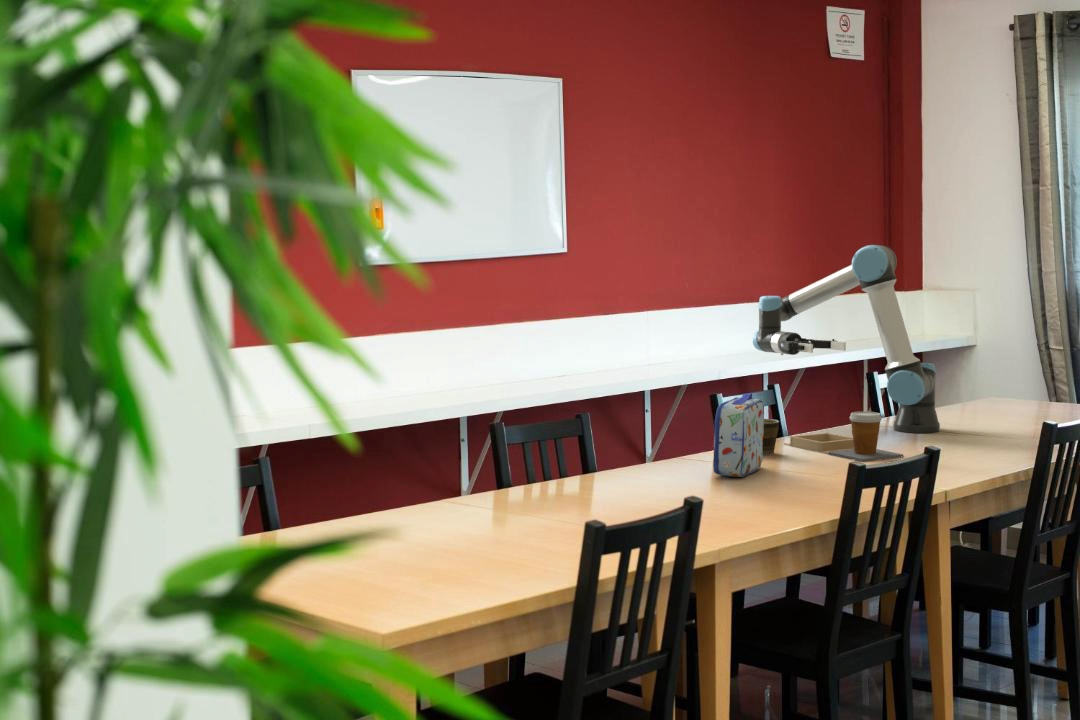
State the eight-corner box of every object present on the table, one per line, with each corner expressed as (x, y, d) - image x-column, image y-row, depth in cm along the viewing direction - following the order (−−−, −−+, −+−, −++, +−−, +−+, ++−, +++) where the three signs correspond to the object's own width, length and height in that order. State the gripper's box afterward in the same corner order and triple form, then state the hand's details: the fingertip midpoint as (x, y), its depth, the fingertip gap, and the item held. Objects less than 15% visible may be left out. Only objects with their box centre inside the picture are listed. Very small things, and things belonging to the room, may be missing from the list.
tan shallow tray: (821, 440, 420) (821, 431, 420) (865, 449, 401) (865, 440, 401) (784, 444, 413) (784, 435, 413) (827, 453, 395) (827, 444, 394)
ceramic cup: (756, 449, 404) (756, 417, 403) (784, 452, 398) (785, 420, 397) (734, 455, 394) (734, 422, 393) (763, 458, 388) (764, 425, 387)
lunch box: (731, 463, 380) (732, 388, 378) (767, 465, 376) (767, 390, 374) (709, 479, 355) (709, 400, 352) (746, 482, 351) (746, 401, 349)
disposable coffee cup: (845, 454, 389) (845, 414, 388) (853, 449, 397) (853, 410, 396) (877, 456, 384) (877, 416, 383) (884, 451, 393) (885, 412, 392)
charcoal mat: (868, 450, 401) (868, 447, 401) (903, 457, 388) (903, 454, 388) (828, 454, 393) (828, 451, 393) (862, 461, 380) (862, 459, 380)
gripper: (816, 352, 446) (858, 357, 427) (757, 355, 435) (797, 360, 416) (816, 330, 445) (858, 334, 427) (757, 333, 434) (798, 337, 415)
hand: (828, 347), depth 421 cm, fingers open, 13 cm apart
